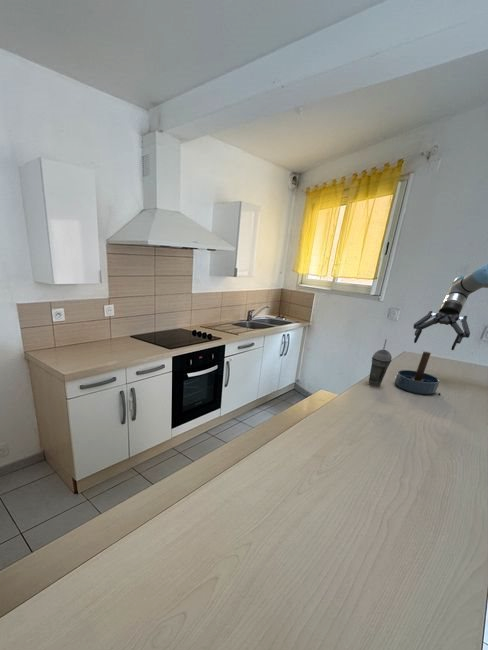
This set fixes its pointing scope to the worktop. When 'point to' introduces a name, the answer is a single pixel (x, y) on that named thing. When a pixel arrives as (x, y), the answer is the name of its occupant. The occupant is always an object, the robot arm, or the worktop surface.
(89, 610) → the worktop surface
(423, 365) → the rusty bolt
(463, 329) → the robot arm
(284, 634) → the worktop surface
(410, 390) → the bowl
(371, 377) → the beverage cup
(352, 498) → the worktop surface
